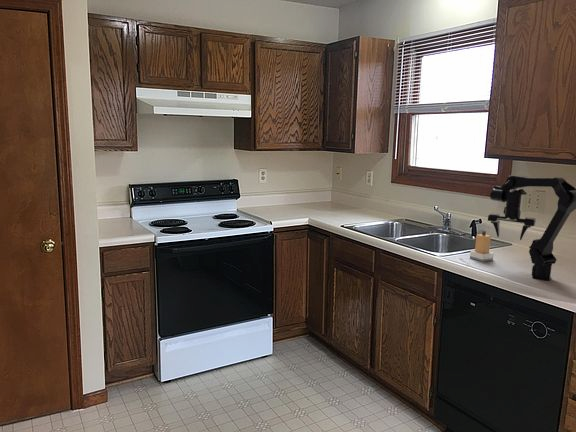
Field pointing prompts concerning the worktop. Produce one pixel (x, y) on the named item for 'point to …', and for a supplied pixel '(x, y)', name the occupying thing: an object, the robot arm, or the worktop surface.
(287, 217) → the worktop surface
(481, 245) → the plug
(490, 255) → the socket
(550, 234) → the robot arm
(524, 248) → the worktop surface
